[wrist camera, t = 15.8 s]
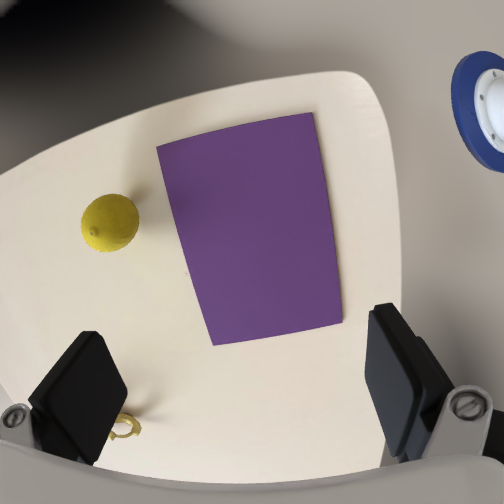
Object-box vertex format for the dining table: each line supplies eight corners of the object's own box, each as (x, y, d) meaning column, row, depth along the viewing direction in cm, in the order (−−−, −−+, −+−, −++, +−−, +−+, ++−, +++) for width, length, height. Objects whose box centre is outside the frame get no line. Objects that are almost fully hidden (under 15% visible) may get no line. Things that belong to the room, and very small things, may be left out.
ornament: (65, 434, 39) (132, 467, 36) (51, 387, 38) (121, 420, 34) (86, 417, 45) (152, 445, 42) (76, 372, 44) (144, 398, 41)
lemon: (101, 192, 31) (61, 207, 23) (145, 185, 30) (112, 198, 23) (109, 240, 32) (74, 265, 25) (152, 235, 32) (124, 261, 25)
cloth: (157, 146, 29) (156, 146, 29) (311, 112, 28) (311, 112, 27) (213, 344, 37) (213, 345, 36) (341, 321, 35) (342, 322, 35)
